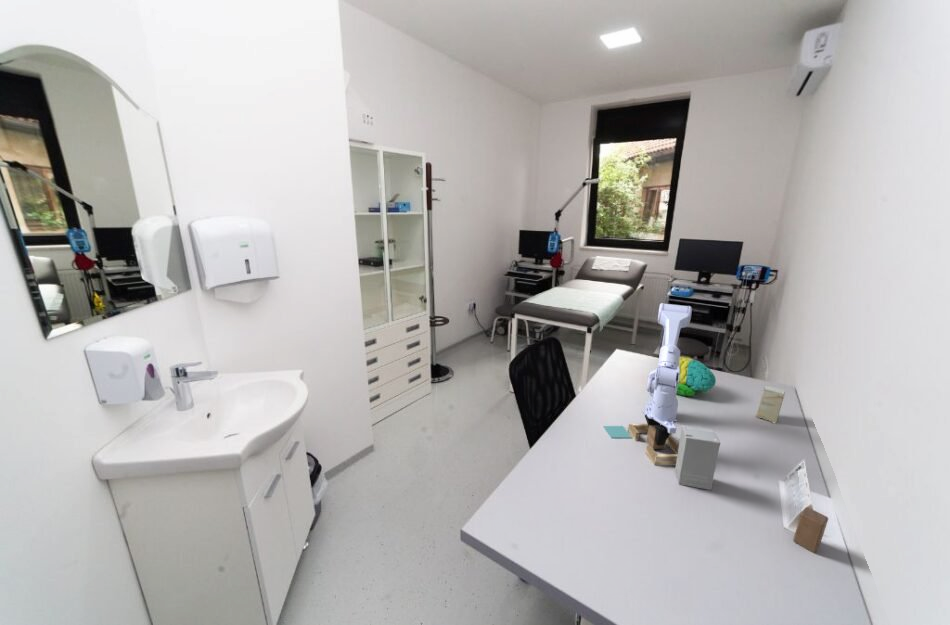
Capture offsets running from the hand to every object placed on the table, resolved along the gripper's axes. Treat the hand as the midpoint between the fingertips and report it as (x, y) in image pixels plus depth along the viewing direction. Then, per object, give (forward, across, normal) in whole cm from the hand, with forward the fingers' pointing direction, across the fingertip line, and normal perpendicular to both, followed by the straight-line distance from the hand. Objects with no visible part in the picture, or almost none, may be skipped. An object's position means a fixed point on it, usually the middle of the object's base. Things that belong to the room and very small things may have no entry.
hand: (656, 440), depth 119 cm
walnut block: (+2, 0, 0) cm, 2 cm away
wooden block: (+2, +37, +16) cm, 40 cm away
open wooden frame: (+2, 0, 0) cm, 2 cm away
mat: (+2, -8, -9) cm, 13 cm away
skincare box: (+2, +16, +2) cm, 16 cm away
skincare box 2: (+3, -17, +53) cm, 56 cm away
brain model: (+3, -41, +34) cm, 53 cm away
